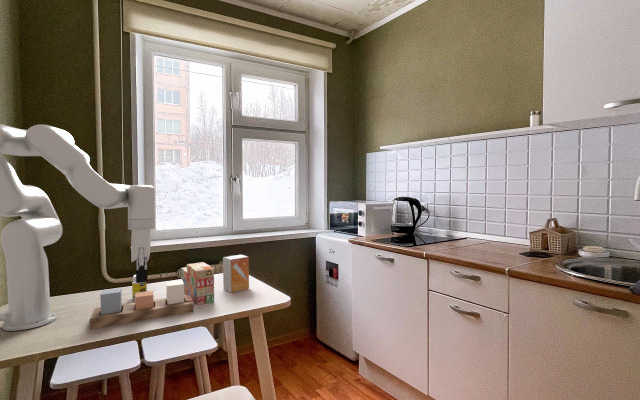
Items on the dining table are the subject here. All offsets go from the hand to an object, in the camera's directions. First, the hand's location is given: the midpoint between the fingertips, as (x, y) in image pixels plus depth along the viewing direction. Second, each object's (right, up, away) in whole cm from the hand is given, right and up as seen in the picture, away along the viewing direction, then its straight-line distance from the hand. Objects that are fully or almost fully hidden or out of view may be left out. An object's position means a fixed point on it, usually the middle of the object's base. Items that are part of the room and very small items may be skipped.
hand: (141, 281), depth 108 cm
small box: (+23, -10, +27) cm, 37 cm away
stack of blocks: (+11, -10, +19) cm, 24 cm away
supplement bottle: (-10, -10, +18) cm, 23 cm away
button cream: (+9, -7, +4) cm, 12 cm away
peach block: (+1, -10, 0) cm, 10 cm away
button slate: (-7, -8, -4) cm, 11 cm away
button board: (+1, -11, +1) cm, 11 cm away
